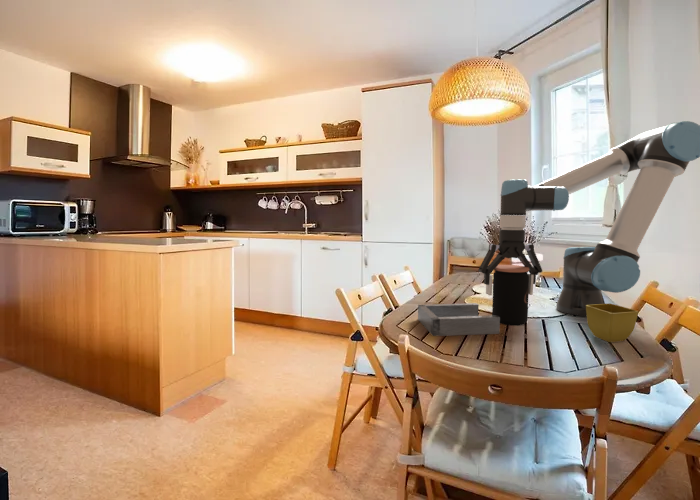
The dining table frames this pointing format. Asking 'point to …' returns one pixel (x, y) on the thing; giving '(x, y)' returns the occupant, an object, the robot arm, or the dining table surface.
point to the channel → (457, 320)
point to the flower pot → (611, 321)
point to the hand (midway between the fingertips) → (509, 294)
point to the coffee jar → (511, 294)
